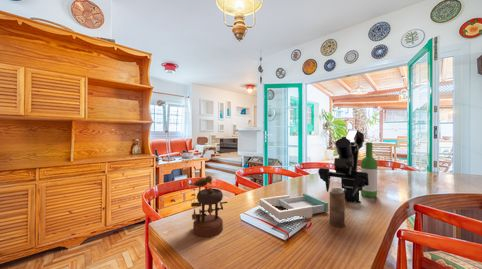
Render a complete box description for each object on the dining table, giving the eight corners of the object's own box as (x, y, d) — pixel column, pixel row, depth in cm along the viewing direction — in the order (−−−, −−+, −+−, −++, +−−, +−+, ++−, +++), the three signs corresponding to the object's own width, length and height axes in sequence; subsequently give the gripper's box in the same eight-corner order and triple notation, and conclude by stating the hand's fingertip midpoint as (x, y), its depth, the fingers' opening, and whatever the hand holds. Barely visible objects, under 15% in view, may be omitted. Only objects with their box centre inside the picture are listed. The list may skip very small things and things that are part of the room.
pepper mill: (341, 221, 77) (341, 187, 77) (346, 227, 72) (346, 191, 72) (327, 220, 78) (327, 187, 78) (332, 226, 73) (332, 190, 73)
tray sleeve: (288, 203, 97) (288, 194, 97) (312, 217, 81) (312, 206, 81) (259, 208, 91) (259, 198, 91) (279, 223, 75) (279, 212, 75)
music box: (195, 243, 62) (193, 179, 63) (185, 231, 71) (183, 176, 72) (236, 230, 70) (233, 174, 71) (222, 221, 79) (220, 171, 81)
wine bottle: (380, 196, 107) (380, 142, 107) (370, 198, 104) (371, 142, 104) (366, 192, 115) (367, 142, 114) (357, 194, 112) (357, 142, 111)
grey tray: (304, 200, 99) (304, 193, 99) (328, 211, 85) (328, 202, 85) (277, 205, 94) (277, 196, 93) (298, 217, 79) (298, 208, 79)
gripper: (319, 149, 88) (311, 178, 80) (368, 152, 77) (365, 185, 68) (324, 165, 94) (317, 193, 86) (370, 169, 83) (367, 202, 74)
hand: (339, 193), depth 78 cm, fingers open, 9 cm apart
